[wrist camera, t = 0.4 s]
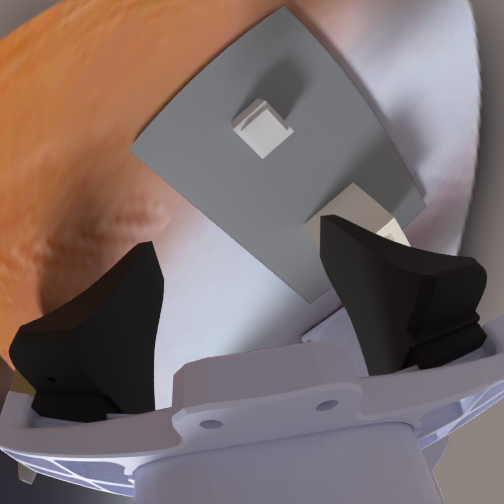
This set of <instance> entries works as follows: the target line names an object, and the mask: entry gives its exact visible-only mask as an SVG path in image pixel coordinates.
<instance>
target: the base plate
mask: <svg viewBox="0 0 504 504" xmlns="http://www.w3.org/2000/svg"><path fill="white" fill-rule="evenodd" d="M128 150H129V151H130V152H131V153H132V154H133V155H135V156H136V157H137V158H138V159H139V160H141V161H142V162H143V163H144V164H145V165H146V166H148V167H149V168H150V169H151V170H152V171H154V172H155V173H156V174H157V175H158V176H159V177H161V178H162V179H163V180H164V181H165V182H166V183H168V184H169V185H170V186H171V187H172V188H174V189H175V190H176V191H177V192H178V193H179V194H181V195H182V196H183V197H184V198H185V199H187V200H188V201H189V202H190V203H191V204H192V205H194V206H195V207H196V208H197V209H198V210H200V211H201V212H202V213H203V214H204V215H205V216H207V217H208V218H209V219H210V220H211V221H213V222H214V223H215V224H216V225H217V226H218V227H220V228H221V229H222V230H223V231H224V232H226V233H227V234H228V235H229V236H230V237H231V238H233V239H234V240H235V241H236V242H237V243H239V244H240V245H241V246H242V247H243V248H244V249H246V250H247V251H248V252H249V253H250V254H252V255H253V256H254V257H255V258H256V259H257V260H259V261H260V262H261V263H262V264H263V265H265V266H266V267H267V268H268V269H269V270H271V271H272V272H273V273H274V274H275V275H276V276H278V277H279V278H280V279H281V280H282V281H284V282H285V283H286V284H287V285H288V286H289V287H291V288H292V289H293V290H294V291H295V292H297V293H298V294H299V295H300V296H301V297H303V298H304V299H305V300H306V301H307V302H308V303H311V302H313V301H314V300H316V299H317V298H318V297H319V296H321V295H322V294H323V293H325V292H326V291H327V290H329V289H330V288H331V287H333V286H332V284H331V282H330V280H329V278H328V276H327V274H326V272H325V270H324V267H323V264H322V262H321V259H320V252H319V250H318V249H317V247H316V245H315V243H314V242H313V240H312V238H311V237H310V235H309V233H308V232H307V230H306V228H305V226H304V225H303V224H305V223H306V222H307V221H308V220H309V219H310V218H312V217H313V216H314V215H315V214H316V213H318V212H319V211H320V210H321V209H322V208H323V207H325V206H326V205H327V204H328V203H329V202H330V201H332V200H333V199H334V198H335V197H336V196H338V195H339V194H340V193H341V192H342V191H343V190H345V189H346V188H347V187H348V186H349V185H350V184H352V183H355V184H356V185H357V186H358V187H359V188H361V189H362V190H363V191H364V192H366V193H367V194H368V195H369V196H370V197H372V198H373V199H374V200H375V201H376V202H377V203H379V204H380V205H381V206H382V207H383V208H384V209H385V210H387V211H388V212H389V213H390V214H391V215H392V216H393V217H394V218H395V219H396V221H397V223H398V224H399V226H400V228H401V230H402V229H403V228H404V227H405V226H406V225H408V224H409V223H410V222H411V221H412V220H413V219H414V218H415V217H416V216H418V215H419V214H420V213H421V212H422V211H423V210H424V209H425V208H426V205H425V203H424V201H423V199H422V197H421V195H420V193H419V191H418V189H417V187H416V185H415V183H414V181H413V179H412V177H411V175H410V173H409V171H408V169H407V168H406V166H405V164H404V162H403V160H402V159H401V157H400V155H399V153H398V152H397V150H396V148H395V146H394V145H393V143H392V141H391V140H390V138H389V136H388V135H387V133H386V132H385V130H384V128H383V127H382V125H381V124H380V122H379V121H378V119H377V118H376V116H375V115H374V113H373V112H372V110H371V109H370V107H369V106H368V104H367V103H366V101H365V100H364V99H363V97H362V96H361V94H360V93H359V92H358V90H357V89H356V87H355V86H354V85H353V83H352V82H351V81H350V79H349V78H348V77H347V75H346V74H345V73H344V72H343V70H342V69H341V68H340V67H339V65H338V64H337V63H336V62H335V60H334V59H333V58H332V57H331V56H330V54H329V53H328V52H327V51H326V50H325V48H324V47H323V46H322V45H321V44H320V43H319V42H318V40H317V39H316V38H315V37H314V36H313V35H312V34H311V33H310V32H309V31H308V30H307V28H306V27H305V26H304V25H303V24H302V23H301V22H300V21H299V20H298V19H297V18H296V17H295V16H294V15H293V14H292V13H291V12H290V11H289V10H288V9H287V8H286V7H285V6H283V7H281V8H280V9H278V10H277V11H275V12H274V13H272V14H271V15H270V16H268V17H267V18H265V19H264V20H263V21H261V22H260V23H259V24H257V25H256V26H255V27H253V28H252V29H251V30H249V31H248V32H247V33H245V34H244V35H243V36H242V37H240V38H239V39H238V40H237V41H235V42H234V43H233V44H232V45H231V46H229V47H228V48H227V49H226V50H225V51H223V52H222V53H221V54H220V55H219V56H218V57H216V58H215V59H214V60H213V61H212V62H211V63H210V64H209V65H207V66H206V67H205V68H204V69H203V70H202V71H201V72H200V73H199V74H198V75H197V76H196V77H195V78H193V79H192V80H191V81H190V82H189V83H188V84H187V85H186V86H185V87H184V88H183V89H182V90H181V91H180V92H179V93H178V94H177V95H176V96H175V97H174V98H173V99H172V100H171V101H170V102H169V104H168V105H167V106H166V107H165V108H164V109H163V110H162V111H161V112H160V113H159V114H158V115H157V116H156V118H155V119H154V120H153V121H152V122H151V123H150V124H149V125H148V127H147V128H146V129H145V130H144V131H143V132H142V133H141V135H140V136H139V137H138V138H137V139H136V141H135V142H134V143H133V144H132V145H131V147H130V148H129V149H128Z"/></svg>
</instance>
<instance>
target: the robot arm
mask: <svg viewBox="0 0 504 504" xmlns="http://www.w3.org/2000/svg"><path fill="white" fill-rule="evenodd" d="M320 259H321V262H322V264H323V267H324V270H325V272H326V274H327V276H328V278H329V280H330V282H331V284H332V286H333V287H334V289H335V291H336V293H337V295H338V296H339V298H340V300H341V302H342V304H343V305H344V307H342V308H341V309H339V310H338V311H337V312H335V313H334V314H333V315H331V316H330V317H329V318H327V319H326V320H324V321H323V322H322V323H320V324H319V325H317V326H316V327H315V328H313V329H312V330H310V331H309V332H307V333H306V334H304V335H303V336H302V337H301V340H302V342H303V343H298V344H293V345H288V346H282V347H277V348H271V349H265V350H258V351H252V352H245V353H238V354H231V355H223V356H215V357H207V358H204V359H200V360H197V361H193V362H190V363H187V364H185V365H184V366H183V367H182V368H181V369H179V370H178V371H177V372H176V373H175V374H174V378H173V395H172V407H169V408H164V409H160V410H156V411H155V397H154V350H155V341H156V335H157V329H158V324H159V319H160V313H161V308H162V303H163V294H164V277H163V274H162V271H161V268H160V265H159V262H158V259H157V256H156V253H155V249H154V246H153V243H152V241H149V242H143V243H138V244H137V245H136V246H134V247H133V248H132V249H131V250H130V251H129V252H128V253H127V254H126V255H125V256H124V257H123V258H122V259H120V260H119V261H118V262H117V263H116V264H115V265H114V266H113V267H112V268H111V269H110V270H109V271H108V272H107V273H105V274H104V275H103V276H102V277H101V278H100V279H99V280H98V281H97V282H95V283H94V284H93V285H92V286H90V287H89V288H88V289H87V290H85V291H84V292H83V293H81V294H80V295H78V296H77V297H75V298H74V299H72V300H71V301H69V302H68V303H66V304H65V305H63V306H61V307H60V308H58V309H56V310H54V311H53V312H51V313H49V314H47V315H45V316H43V317H41V318H39V319H36V320H34V321H32V322H29V323H27V324H25V325H22V326H20V328H19V330H18V332H17V333H16V335H15V337H14V339H13V341H12V343H11V345H10V348H9V356H10V359H11V361H12V363H13V365H14V366H15V368H16V369H17V370H18V371H19V373H20V374H21V375H22V376H23V377H24V378H25V379H26V380H27V381H28V383H29V384H30V385H31V386H32V387H33V388H34V389H35V390H36V393H35V396H34V397H32V396H30V395H28V394H25V393H18V392H12V391H9V392H8V395H7V398H6V401H5V403H4V406H3V409H2V413H1V415H0V449H1V450H2V451H4V452H5V453H7V454H8V455H9V456H11V457H12V458H14V459H15V460H17V461H18V462H20V463H22V464H23V465H25V466H27V467H28V468H30V469H32V470H33V471H35V472H38V473H41V474H44V475H47V476H51V477H54V478H57V479H60V480H64V481H67V482H70V483H74V484H78V485H81V486H85V487H89V488H92V489H97V490H101V491H105V492H110V493H114V494H119V495H125V496H131V497H134V504H446V503H445V500H444V497H443V494H442V492H441V489H440V487H439V484H438V482H437V479H436V477H435V474H434V472H433V471H434V469H435V467H436V466H437V464H438V462H439V461H440V459H441V457H442V455H443V454H444V452H445V450H446V449H447V447H448V445H449V443H450V435H451V432H453V431H454V430H456V429H457V428H459V427H461V426H462V425H464V424H465V423H467V422H469V421H470V420H471V419H473V418H474V417H476V416H477V415H479V414H480V413H482V412H483V411H485V410H486V409H488V408H489V407H490V406H492V405H493V404H495V403H496V402H497V401H499V400H500V399H502V398H503V397H504V315H501V316H499V317H497V318H495V319H493V320H491V321H489V322H487V323H486V324H485V325H484V326H483V327H482V328H481V326H480V325H479V324H478V323H477V322H478V321H479V319H480V316H479V315H478V314H477V313H476V311H475V310H476V308H477V306H478V304H479V301H480V299H481V297H482V295H483V292H484V290H485V287H486V281H487V274H486V270H485V269H484V268H483V267H482V266H481V265H480V264H479V263H478V262H477V261H476V260H475V259H474V258H472V257H462V256H451V255H445V254H439V253H434V252H429V251H425V250H421V249H417V248H413V247H410V246H406V245H403V244H401V243H398V242H395V241H392V240H389V239H387V238H385V237H382V236H380V235H378V234H375V233H373V232H371V231H369V230H367V229H365V228H363V227H361V226H359V225H357V224H354V223H352V222H350V221H348V220H346V219H344V218H342V217H340V216H337V215H334V214H332V215H324V216H320Z"/></svg>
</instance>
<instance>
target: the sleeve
mask: <svg viewBox="0 0 504 504" xmlns="http://www.w3.org/2000/svg"><path fill="white" fill-rule="evenodd" d="M332 214H334V215H337V216H340V217H342V218H344V219H346V220H348V221H350V222H352V223H354V224H357V225H359V226H361V227H363V228H365V229H367V230H369V231H371V232H373V233H375V234H378V235H380V236H382V237H385V238H387V239H389V240H392V241H395V242H398V243H401V244H403V245H406V246H410V244H409V242H408V240H407V239H406V237H405V235H404V233H403V231H402V230H401V228H400V226H399V224H398V223H397V221H396V219H395V218H394V217H393V216H392V215H391V214H390V213H389V212H388V211H387V210H385V209H384V208H383V207H382V206H381V205H380V204H379V203H377V202H376V201H375V200H374V199H373V198H372V197H370V196H369V195H368V194H367V193H366V192H364V191H363V190H362V189H361V188H359V187H358V186H357V185H356V184H355V183H352V184H350V185H349V186H348V187H347V188H346V189H345V190H343V191H342V192H341V193H340V194H339V195H338V196H336V197H335V198H334V199H333V200H332V201H330V202H329V203H328V204H327V205H326V206H325V207H323V208H322V209H321V210H320V211H319V212H318V213H316V214H315V215H314V216H313V217H312V218H310V219H309V220H308V221H307V222H306V223H305V224H303V225H304V226H305V228H306V230H307V232H308V233H309V235H310V237H311V238H312V240H313V242H314V243H315V245H316V247H317V249H318V250H319V252H320V216H324V215H332ZM410 247H411V246H410Z"/></svg>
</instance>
